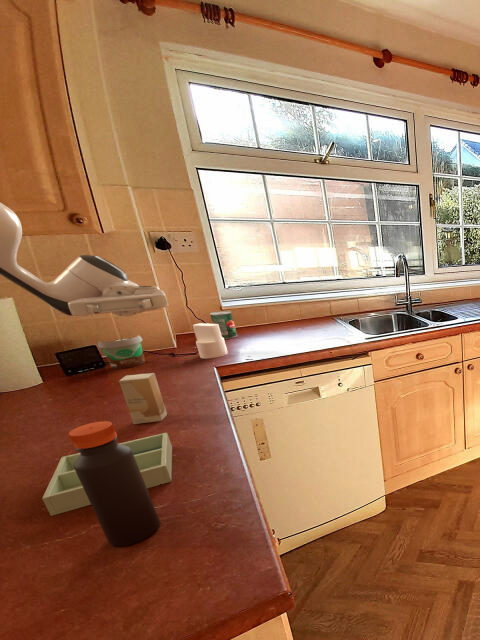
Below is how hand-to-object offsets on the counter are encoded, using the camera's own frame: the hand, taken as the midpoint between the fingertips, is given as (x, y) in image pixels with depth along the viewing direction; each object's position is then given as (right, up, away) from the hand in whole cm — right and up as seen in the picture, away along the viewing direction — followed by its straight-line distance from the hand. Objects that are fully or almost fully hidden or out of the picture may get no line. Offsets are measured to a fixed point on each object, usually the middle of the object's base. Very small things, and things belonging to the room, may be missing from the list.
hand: (118, 307), depth 110 cm
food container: (-35, -13, +43) cm, 57 cm away
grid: (+22, -39, -23) cm, 51 cm away
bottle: (+39, -45, -39) cm, 72 cm away
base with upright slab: (-13, -9, +54) cm, 56 cm away
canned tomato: (-24, +1, +78) cm, 82 cm away
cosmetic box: (+8, -30, +1) cm, 31 cm away
